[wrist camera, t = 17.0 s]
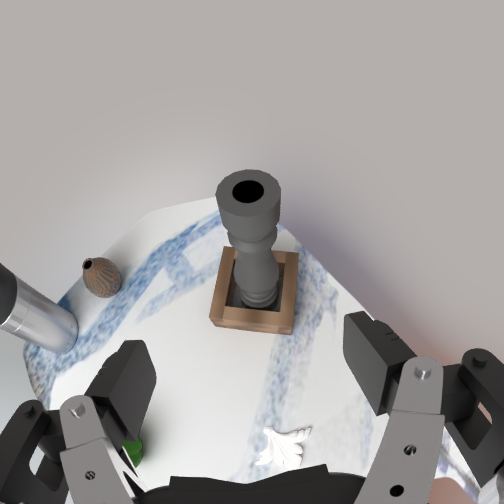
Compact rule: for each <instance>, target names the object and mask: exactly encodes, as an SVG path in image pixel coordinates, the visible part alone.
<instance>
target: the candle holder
mask: <svg viewBox="0 0 504 504" xmlns="http://www.w3.org/2000/svg"><path fill="white" fill-rule="evenodd" d="M215 195H216V199H217V203H218V207H219V211H220V215H221V219H222V223H223V226H224V227H225V228H226V229H227V230H228V233H227V234H228V238H229V242H230V244H231V245H232V246H233V247H234V248H235V250H237V251H238V255H237V259H236V263H235V268H234V277H235V281H236V283H237V285H238V286H239V290H238V292H239V296H240V300H241V303H242V306H243V307H244V308H245V309H254V310H263V311H271V310H273V309H274V307H275V306H276V304H277V300H278V285H277V281H278V279H279V267H278V264H277V261H276V259H275V257H274V255H273V253H272V251H271V247H272V245H273V244H274V242H275V241H276V238H277V227H276V225H277V223H278V222H279V217H280V199H281V188H280V186H279V184H278V182H277V180H276V179H275V178H274V177H272V176H271V175H270V174H268V173H265V172H263V171H260V170H242V171H238V172H234V173H232V174H231V175H229V176H227V177H225V178H224V179H223V180H222V182H221V183H220V184H219V185H218V187H217V191H216V194H215Z"/></svg>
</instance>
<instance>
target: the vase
mask: <svg viewBox="0 0 504 504" xmlns="http://www.w3.org/2000/svg"><path fill="white" fill-rule="evenodd" d="M83 279H84V283H85V285H86V287H87V288H88V289H89V291H90V292H91V293H93V294H94V295H96V296H98V297H102V298H107V297H111V296H113V295H114V294H115V293H116V292H117V291H118V290H119V288H120V284H121V276H120V272H119V270H118V269H117V267H116V266H115V265H114V264H113V263H112V262H111V261H109V260H108V259H105V258H93V259H91V258H88V259H86V260H85V261H84V263H83Z"/></svg>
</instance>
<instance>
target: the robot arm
mask: <svg viewBox="0 0 504 504" xmlns="http://www.w3.org/2000/svg"><path fill="white" fill-rule="evenodd" d="M0 328H1V329H2V330H5V331H6V332H9V333H11V334H13V335H15V336H17V337H19V338H21V339H23V340H25V341H28V342H30V343H32V344H34V345H37V346H39V347H42V348H44V349H46V350H49V351H51V352H54V353H56V354H65V353H67V352H68V351H70V350H71V348H72V347H73V346H74V344H75V342H76V339H77V334H78V327H77V322H76V319H75V317H74V316H73V315H72V314H71V313H70V312H68V311H67V310H65V309H64V308H62V307H60V306H59V305H57V304H56V303H54V302H53V301H51V300H50V299H48V298H47V297H45V296H44V295H42V294H41V293H39V292H38V291H36V290H35V289H33V288H32V287H31V286H29V285H28V284H27V283H25V282H24V281H22V280H21V279H20V278H18V277H17V276H16V275H14V274H13V273H12V272H11V271H9V270H8V269H6V268H5V267H4V266H3V265H2V264H1V263H0ZM343 353H344V357H345V360H346V362H347V364H348V366H349V368H350V369H351V371H352V373H353V375H354V376H355V378H356V380H357V382H358V384H359V385H360V387H361V389H362V391H363V392H364V394H365V396H366V398H367V400H368V401H369V403H370V405H371V407H372V409H373V411H374V412H375V414H376V416H379V415H382V414H385V413H388V415H389V417H390V418H389V421H388V424H387V427H386V430H385V433H384V436H383V438H382V441H381V444H380V447H379V449H378V452H377V454H376V457H375V459H374V462H373V464H372V466H371V469H370V471H369V473H368V476H367V478H366V477H363V476H359V475H355V474H349V473H339V472H328V469H327V466H326V464H322V465H318V466H313V467H308V468H303V469H298V470H292V471H287V472H284V473H281V474H278V475H275V476H272V477H269V478H266V479H263V480H260V481H256V482H253V483H249V484H242V483H235V482H229V481H223V480H217V479H212V478H207V477H178V476H171V477H170V483H169V485H168V486H162V487H158V488H155V489H152V490H149V489H148V488H147V486H146V485H145V484H144V482H143V480H142V479H141V477H140V475H139V474H138V472H137V470H136V468H135V467H134V465H133V463H132V461H131V459H130V458H129V456H128V454H127V452H126V450H125V448H124V447H123V443H124V441H132V442H136V441H137V437H138V434H139V431H140V428H141V425H142V422H143V419H144V416H145V413H146V411H147V408H148V405H149V402H150V399H151V396H152V393H153V390H154V388H155V385H156V372H155V369H154V366H153V363H152V361H151V358H150V355H149V353H148V350H147V347H146V344H145V342H144V341H143V340H126V341H124V342H123V344H122V345H121V347H120V348H119V350H118V351H117V352H115V353H114V354H112V355H111V356H110V357H109V358H107V359H106V361H105V362H104V364H103V365H102V368H101V369H100V370H99V372H98V375H96V376H95V378H94V379H93V381H92V383H91V384H90V386H89V387H88V389H87V391H86V392H85V394H84V395H78V396H74V397H71V398H69V399H68V400H66V401H65V402H64V403H63V404H62V406H61V408H60V410H50V411H47V410H46V409H45V408H44V406H43V404H42V403H41V402H40V401H38V400H29V401H26V402H24V403H22V404H21V405H20V406H19V407H18V409H17V410H16V412H15V413H14V415H13V416H12V417H11V419H10V420H9V422H8V423H7V425H6V427H5V428H4V430H3V431H2V433H1V435H0V504H65V501H66V497H67V494H68V491H69V490H70V493H71V497H72V499H73V502H74V504H428V503H427V502H428V499H429V495H430V492H431V488H432V484H433V481H434V477H435V473H436V468H437V464H438V459H439V454H440V448H441V442H442V436H443V429H444V426H445V427H446V429H447V431H448V432H449V434H450V435H451V437H452V439H453V440H454V442H455V444H456V445H457V447H458V449H459V450H460V452H461V454H462V455H463V457H464V459H465V461H466V462H467V464H468V466H469V467H470V469H471V471H472V473H473V475H474V476H475V478H476V480H477V482H478V484H479V486H480V488H481V491H480V493H479V497H478V504H504V364H503V363H502V362H500V361H499V360H498V359H497V358H496V357H495V356H494V355H493V354H492V353H490V352H489V351H487V350H484V349H478V348H476V349H471V350H468V351H467V352H465V354H464V355H463V358H462V361H461V363H460V364H455V365H448V366H442V365H441V364H440V363H439V362H438V361H437V360H435V359H433V358H431V357H425V356H419V357H418V356H417V355H416V354H415V353H414V352H413V351H412V350H411V349H410V348H409V347H408V346H407V345H406V344H405V343H404V341H403V340H402V339H400V338H399V336H398V335H397V334H396V333H394V331H393V330H392V329H391V328H390V327H389V326H388V325H387V324H385V323H383V322H381V321H378V320H374V321H373V320H372V319H371V318H370V317H369V316H368V315H367V314H366V312H364V311H360V312H355V313H351V314H346V315H345V317H344V335H343ZM479 402H481V403H482V404H483V406H484V407H485V408H486V410H487V411H488V412H489V413H490V415H491V418H492V425H491V423H490V422H489V421H488V419H487V418H486V417H485V416H484V414H483V413H482V411H481V410H480V409H479V408H478V405H479ZM37 446H38V447H39V448H40V449H41V450H42V451H43V452H44V453H45V455H44V457H43V459H42V461H41V464H40V466H39V468H38V471H37V473H36V475H34V474H33V473H32V472H31V470H30V467H29V462H30V459H31V457H32V455H33V453H34V451H35V449H36V447H37Z"/></svg>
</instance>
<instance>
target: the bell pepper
mask: <svg viewBox="0 0 504 504" xmlns="http://www.w3.org/2000/svg"><path fill="white" fill-rule="evenodd" d="M123 447H124V448H125V450H126V452H127V454H128V456H129V458H130V459H131V461H132V463H133V465H134V467H135V468H136V467H137V466H138V465H139V463H140V462H141V459H142V456H143V455H142V453H141V451H140V450H141V449H142V447H143V446H142V442H141V440H140V439H139V437H137V441H136V442H132V441H124V443H123Z"/></svg>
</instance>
